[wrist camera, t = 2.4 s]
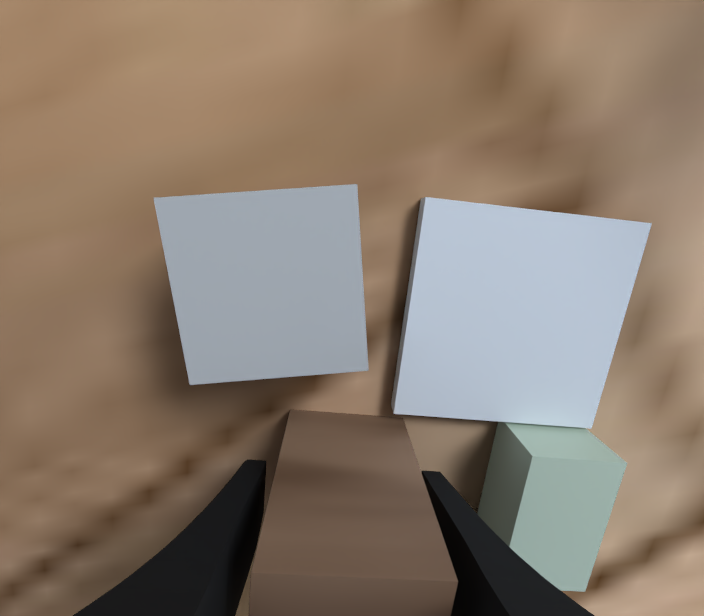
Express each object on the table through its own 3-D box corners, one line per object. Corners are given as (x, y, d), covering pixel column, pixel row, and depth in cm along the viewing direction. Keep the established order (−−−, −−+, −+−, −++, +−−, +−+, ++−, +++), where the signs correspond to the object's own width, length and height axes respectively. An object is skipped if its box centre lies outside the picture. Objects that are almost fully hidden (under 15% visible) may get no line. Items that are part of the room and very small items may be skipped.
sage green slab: (543, 529, 15) (585, 591, 12) (471, 525, 14) (498, 587, 12) (574, 418, 13) (627, 463, 11) (496, 412, 13) (532, 456, 11)
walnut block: (388, 510, 14) (426, 724, 8) (283, 505, 13) (243, 721, 8) (402, 417, 13) (457, 581, 7) (290, 409, 13) (250, 572, 7)
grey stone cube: (357, 321, 12) (368, 370, 8) (237, 330, 12) (190, 384, 8) (349, 197, 11) (357, 184, 7) (218, 205, 11) (153, 197, 7)
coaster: (580, 418, 13) (591, 428, 12) (390, 404, 13) (393, 413, 12) (635, 223, 11) (651, 223, 11) (420, 198, 11) (425, 197, 10)
